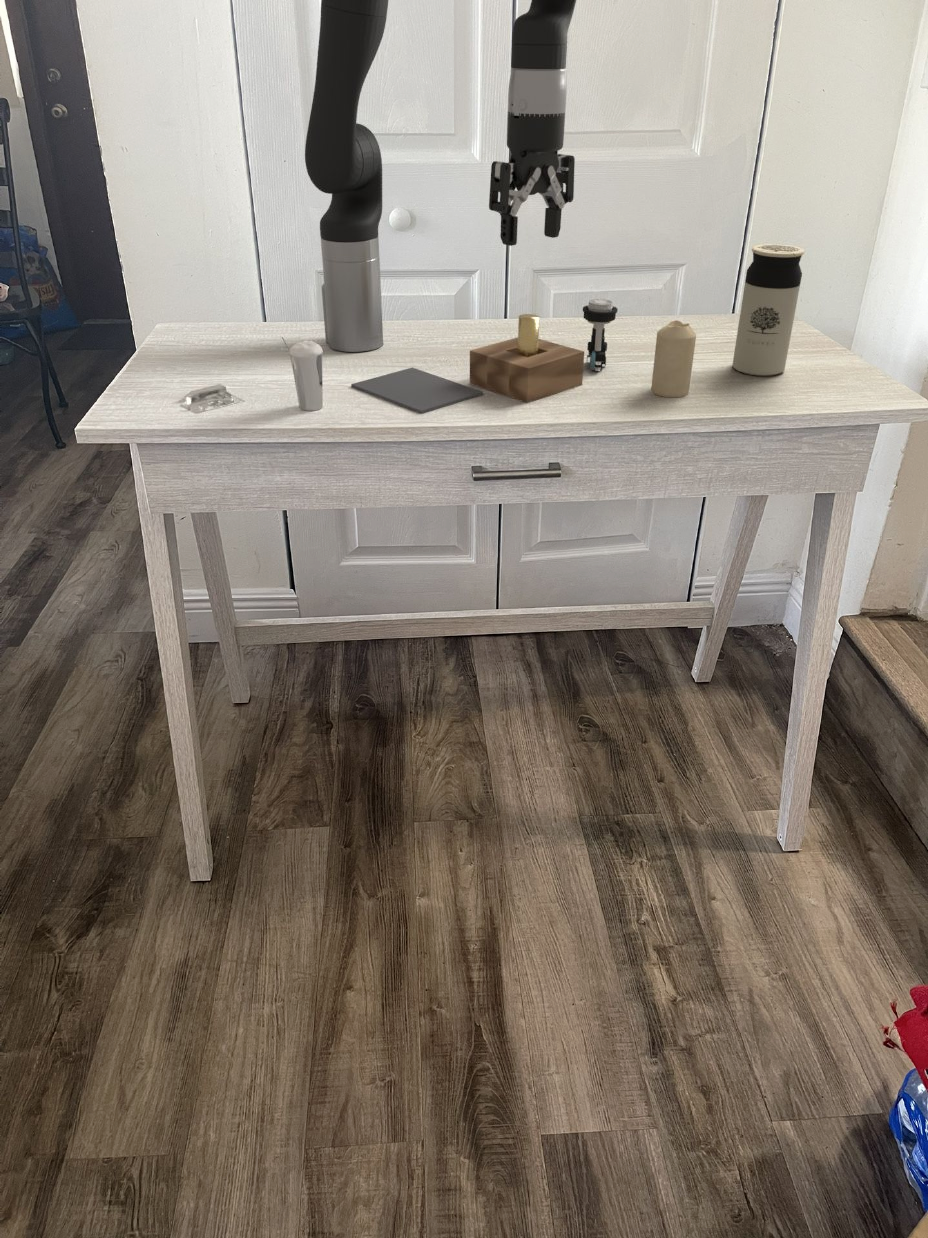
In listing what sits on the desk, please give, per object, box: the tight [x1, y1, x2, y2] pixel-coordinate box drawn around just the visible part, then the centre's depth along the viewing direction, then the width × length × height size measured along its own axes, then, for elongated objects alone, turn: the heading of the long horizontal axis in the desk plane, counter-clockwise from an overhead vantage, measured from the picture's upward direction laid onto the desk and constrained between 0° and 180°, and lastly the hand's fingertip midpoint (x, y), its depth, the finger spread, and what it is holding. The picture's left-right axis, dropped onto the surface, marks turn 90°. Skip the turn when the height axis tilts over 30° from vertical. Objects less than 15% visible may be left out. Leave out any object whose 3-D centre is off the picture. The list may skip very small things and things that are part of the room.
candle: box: [650, 319, 697, 398], centre depth 137 cm, size 6×6×10 cm
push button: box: [582, 298, 618, 372], centre depth 147 cm, size 7×5×10 cm
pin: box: [517, 313, 540, 357], centre depth 140 cm, size 3×3×10 cm
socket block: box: [469, 336, 585, 404], centre depth 141 cm, size 12×12×5 cm
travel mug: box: [732, 243, 805, 377], centre depth 144 cm, size 8×8×18 cm
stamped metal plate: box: [180, 383, 246, 415], centre depth 136 cm, size 8×7×2 cm
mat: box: [351, 367, 484, 415], centre depth 140 cm, size 16×12×1 cm
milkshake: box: [281, 336, 324, 412], centre depth 131 cm, size 4×5×10 cm
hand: (530, 240), depth 132 cm, fingers open, 8 cm apart
